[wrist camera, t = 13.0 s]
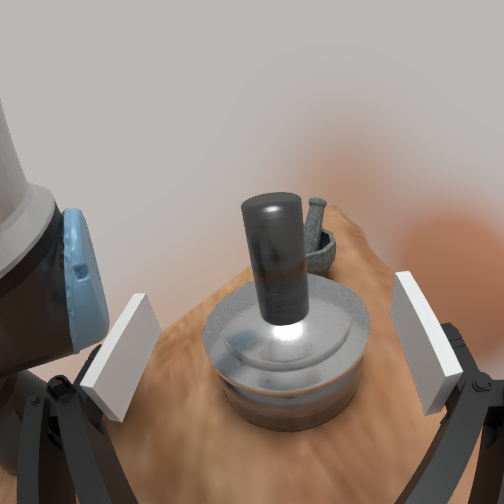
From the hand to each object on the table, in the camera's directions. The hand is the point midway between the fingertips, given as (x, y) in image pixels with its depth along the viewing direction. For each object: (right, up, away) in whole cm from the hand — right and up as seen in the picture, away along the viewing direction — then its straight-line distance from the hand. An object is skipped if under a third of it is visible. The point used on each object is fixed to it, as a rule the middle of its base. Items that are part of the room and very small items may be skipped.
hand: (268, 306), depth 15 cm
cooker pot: (+4, -11, +16) cm, 19 cm away
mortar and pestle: (+8, -1, +32) cm, 33 cm away
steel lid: (+2, -4, +12) cm, 13 cm away
